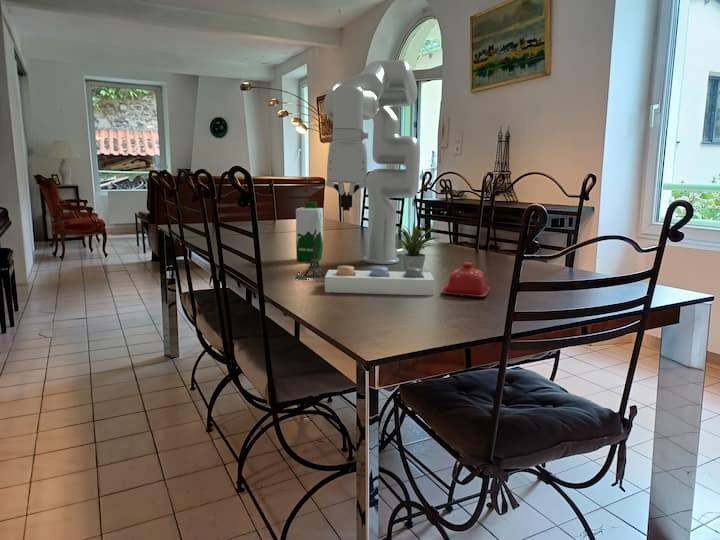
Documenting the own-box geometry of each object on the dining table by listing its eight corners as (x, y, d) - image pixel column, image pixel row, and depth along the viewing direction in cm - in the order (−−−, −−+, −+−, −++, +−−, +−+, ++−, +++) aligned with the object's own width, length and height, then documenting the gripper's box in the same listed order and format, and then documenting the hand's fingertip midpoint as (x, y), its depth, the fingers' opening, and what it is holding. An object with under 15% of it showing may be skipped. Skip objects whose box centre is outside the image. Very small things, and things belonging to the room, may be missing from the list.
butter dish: (439, 296, 133) (441, 263, 132) (448, 287, 144) (450, 257, 142) (485, 301, 129) (487, 267, 128) (490, 291, 140) (493, 260, 138)
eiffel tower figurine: (298, 272, 161) (297, 229, 158) (330, 273, 161) (331, 230, 159) (293, 283, 146) (293, 236, 144) (329, 283, 147) (329, 236, 144)
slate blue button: (387, 278, 140) (387, 266, 139) (387, 281, 136) (388, 269, 135) (371, 277, 140) (371, 266, 140) (371, 281, 136) (371, 269, 135)
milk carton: (324, 259, 183) (325, 202, 179) (318, 263, 174) (318, 203, 171) (300, 257, 185) (300, 201, 181) (293, 262, 176) (293, 202, 172)
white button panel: (429, 286, 143) (430, 272, 142) (433, 295, 133) (434, 280, 132) (328, 283, 144) (328, 269, 143) (324, 292, 134) (324, 277, 133)
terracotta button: (354, 277, 140) (354, 265, 140) (353, 280, 136) (353, 268, 135) (337, 276, 140) (338, 265, 140) (336, 280, 136) (336, 268, 136)
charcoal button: (420, 279, 140) (421, 267, 139) (422, 282, 136) (422, 270, 135) (404, 278, 140) (405, 267, 139) (405, 282, 136) (405, 270, 135)
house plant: (412, 282, 148) (414, 225, 145) (378, 274, 158) (380, 220, 155) (444, 276, 157) (447, 222, 154) (411, 269, 167) (413, 218, 164)
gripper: (377, 139, 135) (375, 210, 138) (319, 137, 135) (319, 208, 139) (377, 137, 127) (375, 212, 131) (316, 135, 128) (315, 210, 131)
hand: (346, 210), depth 135 cm, fingers closed
